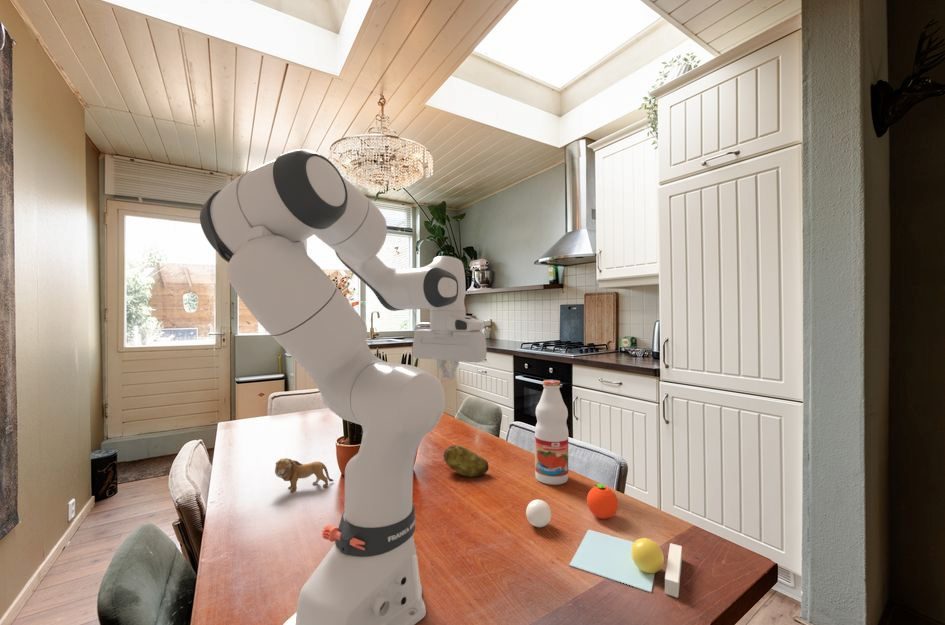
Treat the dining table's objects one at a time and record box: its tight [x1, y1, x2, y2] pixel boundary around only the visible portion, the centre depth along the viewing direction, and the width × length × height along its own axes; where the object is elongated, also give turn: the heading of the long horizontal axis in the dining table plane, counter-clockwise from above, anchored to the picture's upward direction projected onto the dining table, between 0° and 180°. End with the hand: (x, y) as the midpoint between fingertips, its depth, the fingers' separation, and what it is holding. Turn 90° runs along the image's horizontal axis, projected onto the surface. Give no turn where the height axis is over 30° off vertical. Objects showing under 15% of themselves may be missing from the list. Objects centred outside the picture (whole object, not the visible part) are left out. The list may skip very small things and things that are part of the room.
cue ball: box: [525, 499, 552, 528], centre depth 87 cm, size 6×6×6 cm
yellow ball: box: [631, 537, 665, 574], centre depth 72 cm, size 6×6×6 cm
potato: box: [443, 444, 489, 478], centre depth 116 cm, size 8×13×8 cm, turn 61°
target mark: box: [568, 529, 656, 593], centre depth 76 cm, size 14×14×1 cm
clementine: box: [586, 483, 619, 520], centre depth 92 cm, size 8×7×7 cm
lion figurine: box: [274, 457, 334, 494], centre depth 106 cm, size 15×5×9 cm, turn 121°
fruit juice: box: [534, 379, 569, 486], centre depth 112 cm, size 9×9×28 cm
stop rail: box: [664, 542, 683, 599], centre depth 71 cm, size 12×2×2 cm, turn 149°
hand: (447, 378), depth 97 cm, fingers closed
